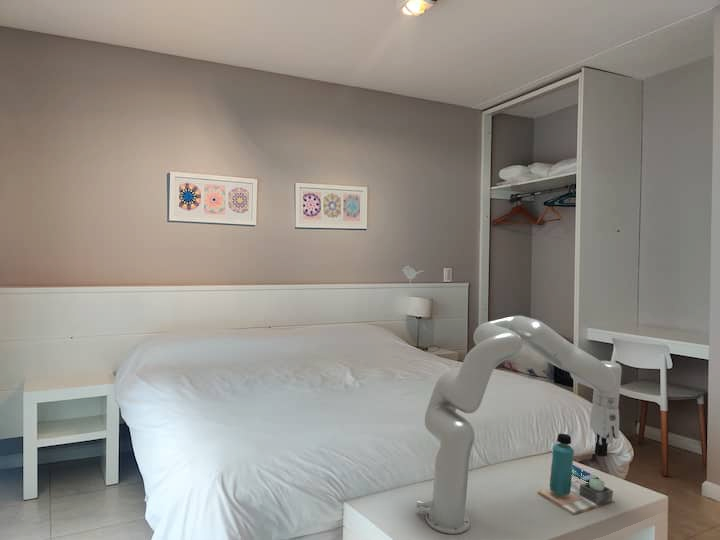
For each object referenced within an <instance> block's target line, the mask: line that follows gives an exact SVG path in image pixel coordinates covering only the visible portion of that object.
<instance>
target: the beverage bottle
mask: <svg viewBox="0 0 720 540" xmlns="http://www.w3.org/2000/svg"><path fill="white" fill-rule="evenodd" d="M556 441H557V442H558V443H556V444H554V445H553V446H552V459H551V466H550V479H549V488H550V490H551V491H552V492H554V493H556V494H558V495H569V494H570V489H571V483H572V482H573V481H572V478H573V475H572V465H574V464H573V462H574V460H573V459H574V452H575V451H574V449H573V448H572V447H571V446H570V444H572V438H571V435H569V434H566V433H558V435H557V439H556Z"/></svg>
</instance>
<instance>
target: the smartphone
mask: <svg viewBox="0 0 720 540" xmlns="http://www.w3.org/2000/svg"><path fill="white" fill-rule="evenodd" d="M572 470H574V471H573V472H574V473H573V472H572V474H573V475H574V476H576V477H578V478H579V480H580V479H582V480H584V481H586V482H590V479H592V478H594V479H599V480H600V478H599V477H597V476H596V475H594V474H592V473H590V472H588V471H586V470H585V469H583V468H580V467H578V466H576V465H574V464H572ZM581 470H583V472H582V471H581ZM575 471H576V472H575ZM581 473H582V476H581ZM573 475H572V476H573ZM583 475H584V476H583ZM574 476H573V477H574ZM585 476H586V477H585ZM576 477H575V478H576ZM578 478H577V479H578ZM582 480H581V481H582ZM584 481H583V482H584ZM586 482H585V483H586Z"/></svg>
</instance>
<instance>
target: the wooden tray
mask: <svg viewBox="0 0 720 540" xmlns="http://www.w3.org/2000/svg"><path fill="white" fill-rule="evenodd" d="M570 493H571V494H573V495H574V496H576V497H578V498H580V499H581V500H579V501H576V502H572V503H569V504H566V505H563V506H561V505H559V504H557V503H556V502H554V501H552V500H551V499H549V498H547V497H546V496H544V495H542V494H541V493H539V491H537V495H539V496H541V497H543V498H544V499H546V500H548V501H550V502H551V503H553V504H554V505H556V506H558V507H559V508H561V509H562V510H564V511H566V512H568V513H569V514H571V515H572V516H576V515H579V514H582V513H585V512H588V511H591V510H594V509H597V508H600V507H604V506H606V505H610V504H613V503H615V501H616V500H615V499H614V498H613V495H614V490H613V489H611V488H609V487H607V486H605V485H604V491H603V492H600V493H597V492H596V491H594V490H592V489H590V488H589V482H588V483H586V482H584V483H583V481H581V480H576V481H572V483H571V489H570Z"/></svg>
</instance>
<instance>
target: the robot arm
mask: <svg viewBox="0 0 720 540" xmlns="http://www.w3.org/2000/svg"><path fill="white" fill-rule="evenodd" d="M472 337H473V342H474V344H475V346H474V347H473V348H471V349H470V350H469V351H468V353H467V354H466V356H465V358H464V359H463V362H462V364H461V367H460V368H459V371H455V370H449V371H447V372H444V373H443V374H442V375H441V376H440V377H439V378H438V380H437V381H436V383H435V385H434V388H433V391H432V394H431V396H430V399H429V403H428V406H427V408H426V410H425V415H424V425H425V426H424V427H425V428H426V430H427V432H428V433H430V435H432V436H433V437H434V438H435V439H436V440H437V441H438V442H439V444H440V447H439V449H438V451H437V453H436V456H435V463H434V475H433V489H432V499H431V501H429V500H428V502H427V501H423V500H419V499H417V500H416V508H419V512H420V513H421V512H422V513H425V521H426V523H427V524H428V526H429V527H431V529H434V530H435V531H438V532H441V533H445V534H450V535H458V534H462V533H464V532H466V531H467V530H469V528H470V523H471V521H470V518H469V516H468V515H467V514H466V505H467V492H468V480H469V468H470V460H471V453H472V450H473V446H474V442H475V439H476V437H475V434H476V433H475V431H474V428H473V426H472V424H471V423H470V421H468V419H466V418H465V417H463V415H461V414H460V413H458V412H457V410H458V411H460V412H461V413H465V414H473V413H476V411H478V409H479V408H480V406H481V404H482V401H483V398H484V397H485V393H486V390H487V387H488V384H489V382H490V378H491V377H492V374H493V372H494V370H495V369H496V368H497V366H499V365H500V364H502V363H503V362H505V361H507V360H510V359H512V358H514V357H516V356H517V355H518V354H519V353H520V352H521V350H522V348H523V346H526V347H527V348H528V349H530V350H531V351H533V352H534V353H536V354H537V355H538V356H540V357H541V358H543V359H544V360H546V361H547V363H550V364H552V365H553V366H555V367H557V368H558V369H561V370H563V371H565V372H568V373H569V375H570V378H571V379H573V381H575V382H576V383H578V384H580V385H582V386H585V387H588V388H591V389H593V392H592V393H593V395H592V405H591V411H590V421H589V427H590V428H591V429H592V432H593V433H594V440H595V446H594V455H595V456H597V457H605V458H606V457H607V456H608V446H609V445H612V444H614V440H617V439H619V437H620V410H619V409H620V408H619V401H620V393H621V392H620V391H621V380H622V366H621V364H620V363H617V362H616V361H612V360H611V361H610V360H599V359H598V358H597V357H595V356H593V355H591V354H590V353H588V352H587V351H584V350H583V349H582V348H580V347H579V346H577V345H575V344H573V343H571V342H570V341H568V340H567V339H565V338H564V337H563V336H562V335H560V334H559V333H558V332H556V331H555V330H554V329H552V328H551V327H549V326H548V325H547V324H546V323H544V322H542V321H541V320H539V319H536V318H532V317H528V316H525V315H512V316H509V317H507V316H506V317H504V318H500V319H494V320H490V321H487V322H483V323H481V324H480V325H478V326H477V327H476V329H475V330H474V332H473V336H472ZM613 438H614V439H613Z"/></svg>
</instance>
